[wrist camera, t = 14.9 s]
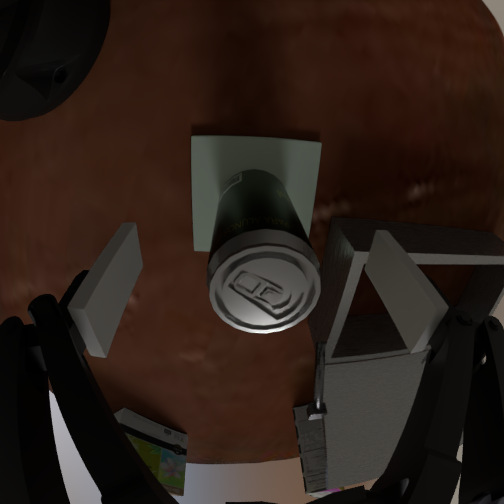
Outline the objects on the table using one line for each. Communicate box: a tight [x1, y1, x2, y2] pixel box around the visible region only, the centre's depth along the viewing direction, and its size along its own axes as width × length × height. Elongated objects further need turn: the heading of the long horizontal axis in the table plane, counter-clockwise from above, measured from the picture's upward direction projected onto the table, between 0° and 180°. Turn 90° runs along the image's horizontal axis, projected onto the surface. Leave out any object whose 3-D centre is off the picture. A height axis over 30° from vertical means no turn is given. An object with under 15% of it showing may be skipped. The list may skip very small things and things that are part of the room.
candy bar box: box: [293, 402, 345, 499], centre depth 37 cm, size 11×5×16 cm, turn 23°
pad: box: [191, 135, 322, 251], centre depth 23 cm, size 10×10×1 cm
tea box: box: [114, 408, 188, 496], centre depth 39 cm, size 15×10×15 cm, turn 46°
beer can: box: [206, 169, 321, 333], centre depth 17 cm, size 5×5×12 cm
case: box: [306, 217, 504, 490], centre depth 22 cm, size 18×25×18 cm
